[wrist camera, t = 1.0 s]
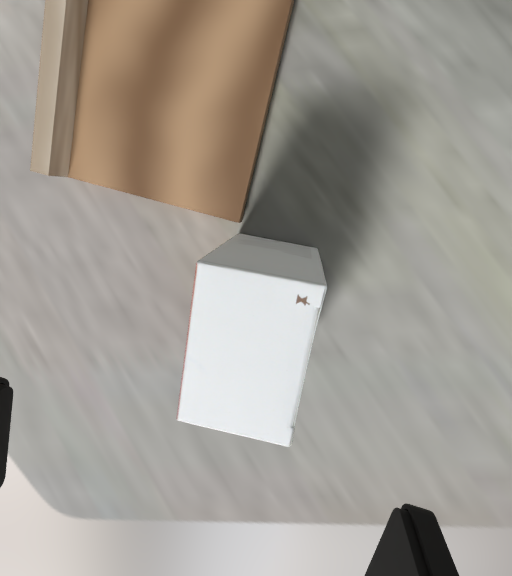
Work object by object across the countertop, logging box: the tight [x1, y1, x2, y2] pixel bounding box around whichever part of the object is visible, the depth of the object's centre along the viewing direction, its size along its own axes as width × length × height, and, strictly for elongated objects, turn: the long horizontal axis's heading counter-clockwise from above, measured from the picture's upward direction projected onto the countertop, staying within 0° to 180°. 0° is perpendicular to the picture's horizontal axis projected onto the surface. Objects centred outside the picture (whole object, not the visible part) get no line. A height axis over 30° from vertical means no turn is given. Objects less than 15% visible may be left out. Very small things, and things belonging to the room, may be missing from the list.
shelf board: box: [30, 0, 294, 223], centre depth 23 cm, size 13×15×3 cm
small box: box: [176, 234, 327, 447], centre depth 22 cm, size 8×6×10 cm
